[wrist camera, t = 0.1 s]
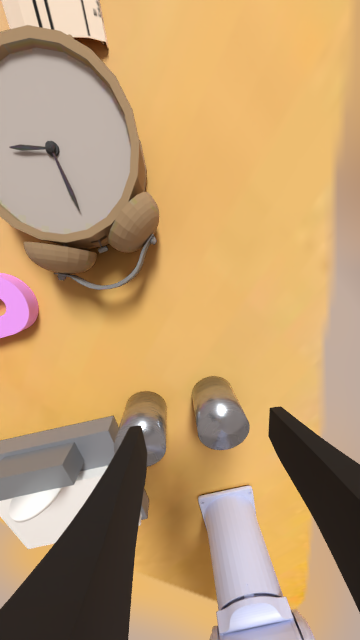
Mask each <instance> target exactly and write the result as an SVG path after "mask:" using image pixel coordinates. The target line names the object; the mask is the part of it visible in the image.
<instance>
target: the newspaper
mask: <svg viewBox="0 0 360 640" xmlns="http://www.w3.org/2000/svg"><path fill="white" fill-rule="evenodd" d="M1 1H2V4H3V7H4V11H5V14H6V17H7V21H8V24H9V27H10V29H14V28H18V27H22V26H26V25H30V26H36V27H41V28H47V29H52V30H58V31H61V32H63V33H65V34H66V35H68V34H70V35H72V36H73V38H91V39H95V40H99V41H101V42H102V44H103V45H104V42H106V45H107V47H108V42H107V37H106V32H105V27H104V21H103V16H102V11H101V6H100V0H1ZM108 49H109V48H108Z"/></svg>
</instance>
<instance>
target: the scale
mask: <svg viewBox="0 0 360 640" xmlns="http://www.w3.org/2000/svg"><path fill="white" fill-rule="evenodd" d="M118 430H119V427H118V425H117V423H116V420H115V418H114V416H110V417H106V418H101V419H97V420H92V421H87V422H83V423H78V424H74V425H69V426H65V427H60V428H56V429H51V430H47V431H42V432H38V433H33V434H28V435H24V436H19V437H15V438H10V439H6V440H1V441H0V517H1V518H2V519H3V520H4V522H5V523H6V524H7V525H8V526H9V527H10V528H11V530H12V531H13V532H14V533H15V534H16V536H17V537H18V538H19V539H20V540H21V541H22V543H23V544H24V545H25V546H26V547H27V548H28V549H30V548H35V547H40V546H45V545H49V544H54V543H56V541H57V540H58V539H59V537H60V536H61V535H62V533H63V532H64V531H65V529H66V528H67V527H68V525H69V524H70V523H71V521H72V520H73V519H74V517H75V516H76V514H77V513H78V512H79V510H80V509H81V507H82V506H83V504H84V503H85V502H86V500H87V499H88V497H89V496H90V494H91V493H92V491H93V489H94V488H95V486H96V485H97V483H98V482H99V480H100V478H101V477H102V475H103V474H104V472H105V470H106V469H107V467H108V465H109V464H110V462H111V460H112V458H113V457H114V455H115V453H114V443H115V440H116V436H117V433H118ZM148 507H149V499H148V496H147V494H146V492H145V489H144V492H143V499H142V506H141V512H140V519H139V525H141V520H143V519H147V518H148Z"/></svg>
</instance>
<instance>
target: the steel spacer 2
mask: <svg viewBox="0 0 360 640" xmlns="http://www.w3.org/2000/svg"><path fill="white" fill-rule="evenodd" d="M192 400H193V406H194V412H195V418H196V424H197V430H198V436H199V439H200V441H201V442H202V443H203V444H204V445H205V446H207V447H209V448H211V449H215V450H226V449H230V448H233V447H235V446H237V445H239V444H240V443H241V442H243V441H244V439H245V438H246V437H247V435H248V433H249V422H248V420H247V418H246V416H245V414H244V412H243V410H242V408H241V406H240V404H239V402H238V400H237V398H236V396H235V394H234V391H233V389H232V387H231V385H230V384H229V383H228V381H226V380H225V379H223V378H221V377H216V376H211V377H207V378H204V379H202V380H200V381H199V382H198V383H197V384H196V385H195V386H194V388H193V391H192Z"/></svg>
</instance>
